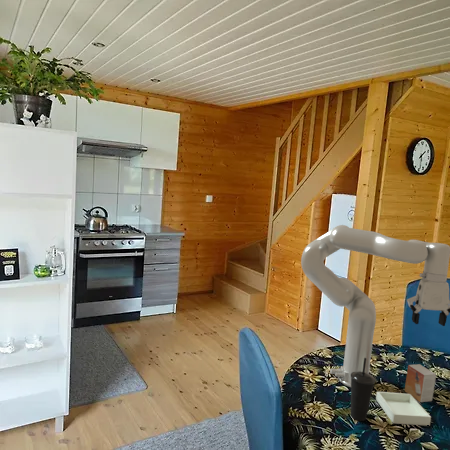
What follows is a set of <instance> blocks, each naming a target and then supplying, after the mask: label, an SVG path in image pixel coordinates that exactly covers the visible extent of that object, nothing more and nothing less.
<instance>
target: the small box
mask: <svg viewBox="0 0 450 450" xmlns="http://www.w3.org/2000/svg"><path fill="white" fill-rule="evenodd" d="M436 377H437V373H435V372H433V371H431V370H430V369H428V368H426V367H425V366H423V365H422V364H420V363H419V364H408V365H407V372H406V377H405V379H406V380H405V384H404V385H405V386H404V392H405V393H406V394H411V395H412V396H413V398H414V399H415V400H416V401H417V402H418V403H424V402H425V403H427V402H432V401H433V398H434V391H435V384H436Z"/></svg>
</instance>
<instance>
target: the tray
mask: <svg viewBox="0 0 450 450" xmlns="http://www.w3.org/2000/svg"><path fill="white" fill-rule="evenodd" d="M375 400H376V402H377V403H378V405H379V406H380V407H381V409H382V410H383V411H384V413H385V414H386V416H387V417H388V418H389V419H390V422H392V424H396V425H397V424H398V425H399V424H401V425H412V426H413V425H414V426H415V425H416V426H427V425H429V426H431V419H432V416H431V415H430V414H429V413H428V412H427V411H426V410H425V408H424V407H423V406H422V405H421V404H420V402H419V401H418V400H416V399H415V398H414V397H413V396H412V395H411V394H408V393H401V392H387V391H376V396H375ZM429 426H428V427H429Z"/></svg>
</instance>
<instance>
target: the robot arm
mask: <svg viewBox="0 0 450 450" xmlns="http://www.w3.org/2000/svg"><path fill="white" fill-rule="evenodd" d="M340 250H346V251H351V252H355V253H357V252H358V253H364V254H367V255H372V256H375V257H381V258H384V259H388V260H393V261H396V262H397V261H398V262H403V263H407V264H418V265H419V264H421V263H424V264H423V265H424V266H423V271H422V273H421V272H420V273H419V277H420V278H421V279H420V280H419V283H418V287H417V290H416V294H415V295H414V296H411V297H409V298H407V299H406V302H407V306H408V307H409V308H410V310H411V311H412V316H411V320H412V323H414V324H415V325H419V324H420V323H419V322H420V315H421V314H420V312H421V311H422V310H427V311H438V312H439V311H440V312H439V315H438V324H440V325H441V326H442V327H445V326H446V324H447V317H448V316H449V315H450V286H449V285H450V284H449V283H448V282H447V280H448V279H447V278H448V273H449V263H450V245H448V244H447V243H442V242H441V243H440V242H428V241H422V240H419V239H409V240H403V239H399V238H394V237H390V236H387V235H384V234H382V233H380V232H376V231H372V230H364V229H360V228H359V229H358V228H354V227H349V226H348V225H344V224H339V225H336V226H335V227H333V228H332V229H331V230H329V231H327V232H326V233H324V234H322V235H321V236H319V237H318V238H316V239H314V240H311V242H309V244H307V245H306V246H305V247H304V249H303V251H302V254H301V259H300V261H301V262H300V263H301V264H300V265H301V269H302V271H303V273H304V275H305V277H306V278H307V279H308V280H309V281H310V282H311V283H312V284H314V286H316V287H317V289H318V290H319V291H320V292H322V294H324V295H325V296H326V297H327V298H328V299H329V300H330V302H332V303H333V304H334V305H336V306H338V307H345V308H346V309H347V310H348V311H349V313H348V321H347V331H346V337H345V338H346V341H345V348H344V356H343V357H344V358H343V365H341V366H340V368H330V369H329V370H330V371H329V372H330V374H331V375H334V376H335V377H337V379H338V381H339V382H340V383H342V384H343V385H344V386H346V387H348V388H351V373H352V372H362V371H363V363H364V358H366V365H365V373H368V374H370V367H371V359H372V349H373V344H374V343H373V341H374V333H375V326H376V323H377V322H376V321H377V311H376V305H375V303H374V301H373V300H372V299H371V298H370V297H369V296H368V295H367V294H366V293H365V292H364V291H363V290H361V288H359V286H357V285H356V284H355V283H354V282H353V281H351V280H350V279H348V278H345V277H339V276H338V275H336V273H335V272H334V271H333V270H331V269H330V268H329V267H327V265H325V262H324V261H325V259H326V258H328V257H330V256H331V255H332V254H333V255H334V253H336V252H338V251H340ZM414 303H415V305H414Z"/></svg>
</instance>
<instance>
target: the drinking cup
mask: <svg viewBox="0 0 450 450" xmlns="http://www.w3.org/2000/svg"><path fill="white" fill-rule="evenodd" d="M365 365H366V358H364V363H363V371H362V372H352V373H351V387H350V417H351V419H354V420H356V421H359V422H364V421H366V420H367V415H368V410H369V408H370V403H371V399H372V394H373V388H374V385H375V383H376V378H375V377H374V376H373V375H372V374H370V373H369V374H368V373H365Z"/></svg>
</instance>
